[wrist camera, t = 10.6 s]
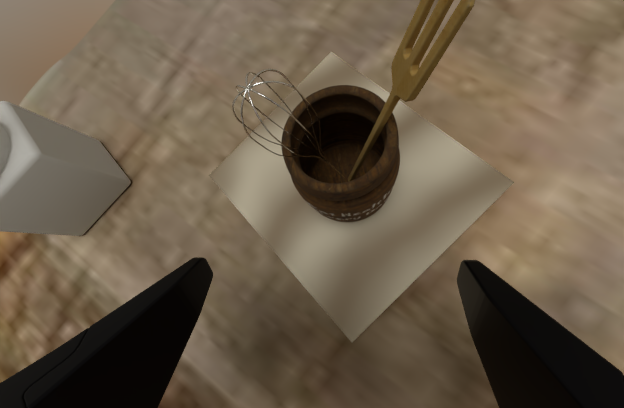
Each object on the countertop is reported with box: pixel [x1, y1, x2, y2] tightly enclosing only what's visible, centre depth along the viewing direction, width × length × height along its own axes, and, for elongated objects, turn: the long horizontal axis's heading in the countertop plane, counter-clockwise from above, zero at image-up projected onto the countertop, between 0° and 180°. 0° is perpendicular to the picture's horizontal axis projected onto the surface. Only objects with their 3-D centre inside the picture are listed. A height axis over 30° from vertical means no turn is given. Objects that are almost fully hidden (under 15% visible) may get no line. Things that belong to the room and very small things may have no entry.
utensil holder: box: [232, 0, 475, 222], centre depth 11 cm, size 6×6×12 cm
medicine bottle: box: [0, 101, 131, 236], centre depth 18 cm, size 7×7×12 cm
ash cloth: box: [209, 52, 514, 342], centre depth 18 cm, size 16×14×2 cm
